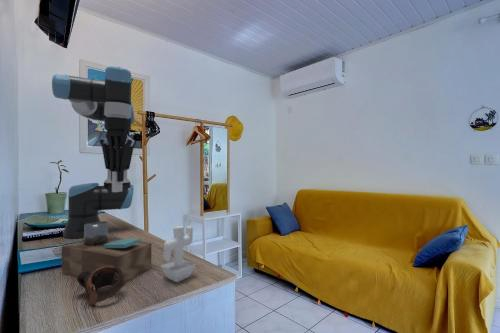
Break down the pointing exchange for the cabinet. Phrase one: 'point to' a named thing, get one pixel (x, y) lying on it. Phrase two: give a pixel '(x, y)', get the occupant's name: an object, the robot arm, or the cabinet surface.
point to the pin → (95, 233)
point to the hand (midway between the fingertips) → (117, 191)
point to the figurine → (178, 255)
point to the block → (106, 258)
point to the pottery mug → (101, 283)
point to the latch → (122, 243)
